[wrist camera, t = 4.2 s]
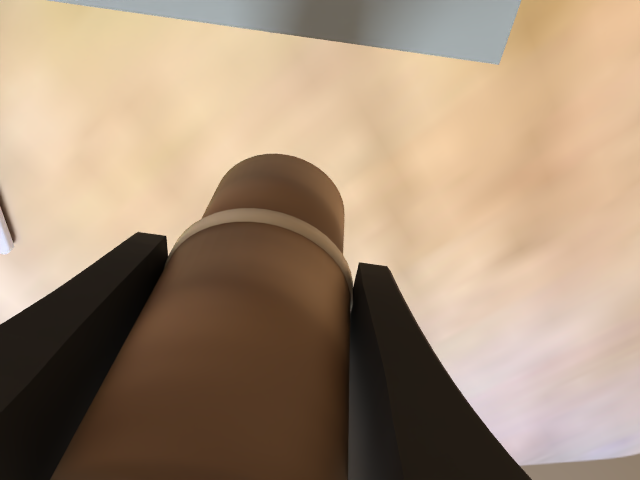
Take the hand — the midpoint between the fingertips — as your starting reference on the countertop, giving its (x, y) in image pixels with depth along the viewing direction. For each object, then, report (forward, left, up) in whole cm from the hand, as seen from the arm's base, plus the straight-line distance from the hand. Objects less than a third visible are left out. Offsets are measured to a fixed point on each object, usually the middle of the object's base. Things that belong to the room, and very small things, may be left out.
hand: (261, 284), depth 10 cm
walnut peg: (0, 0, -3) cm, 3 cm away
